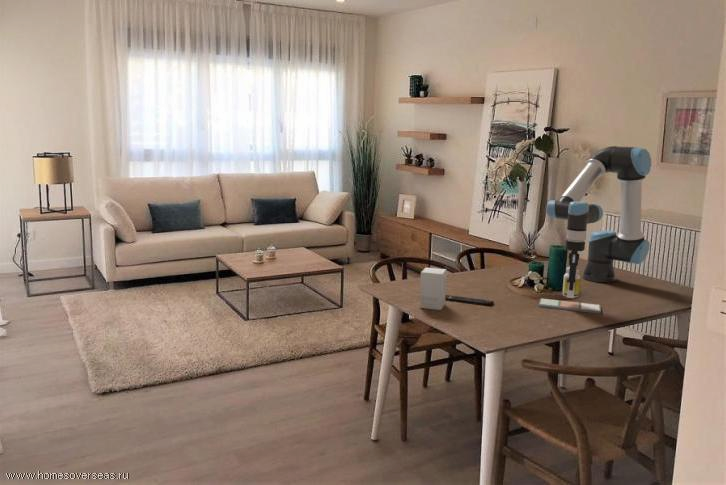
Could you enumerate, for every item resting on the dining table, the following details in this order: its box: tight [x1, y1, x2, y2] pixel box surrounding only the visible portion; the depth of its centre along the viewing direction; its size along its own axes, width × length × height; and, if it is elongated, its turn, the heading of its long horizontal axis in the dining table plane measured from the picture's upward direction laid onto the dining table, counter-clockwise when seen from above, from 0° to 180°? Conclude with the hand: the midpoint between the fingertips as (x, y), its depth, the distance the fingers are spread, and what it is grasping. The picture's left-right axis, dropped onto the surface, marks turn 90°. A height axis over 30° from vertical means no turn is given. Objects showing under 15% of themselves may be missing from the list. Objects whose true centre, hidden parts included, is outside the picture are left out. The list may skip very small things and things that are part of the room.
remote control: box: [445, 294, 494, 307], centre depth 267 cm, size 5×24×1 cm, turn 69°
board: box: [538, 297, 602, 315], centre depth 262 cm, size 10×24×1 cm, turn 71°
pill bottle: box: [562, 266, 581, 299], centre depth 260 cm, size 6×6×12 cm
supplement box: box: [419, 267, 447, 311], centre depth 258 cm, size 9×9×15 cm
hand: (570, 295), depth 261 cm, fingers closed on pill bottle, 6 cm apart
